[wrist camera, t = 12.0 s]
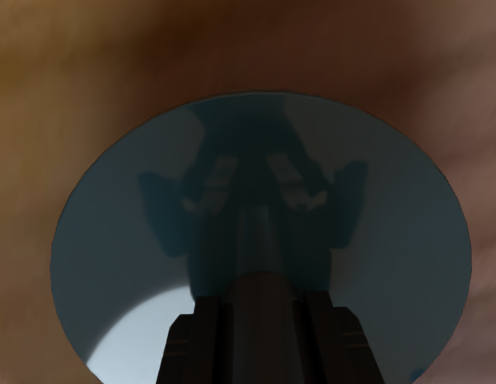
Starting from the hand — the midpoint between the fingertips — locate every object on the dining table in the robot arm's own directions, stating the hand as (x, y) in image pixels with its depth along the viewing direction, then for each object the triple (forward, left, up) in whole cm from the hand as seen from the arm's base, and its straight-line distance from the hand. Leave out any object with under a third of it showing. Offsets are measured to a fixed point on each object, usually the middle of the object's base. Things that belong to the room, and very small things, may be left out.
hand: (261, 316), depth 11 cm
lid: (0, 0, -1) cm, 1 cm away
